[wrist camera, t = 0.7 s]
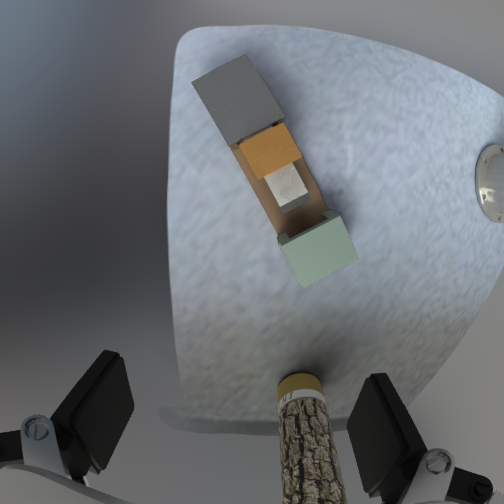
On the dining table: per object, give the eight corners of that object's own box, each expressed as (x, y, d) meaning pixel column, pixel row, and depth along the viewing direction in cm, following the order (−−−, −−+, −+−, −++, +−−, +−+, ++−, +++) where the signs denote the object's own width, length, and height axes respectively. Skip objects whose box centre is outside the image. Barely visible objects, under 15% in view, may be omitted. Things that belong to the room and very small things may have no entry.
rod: (246, 80, 27) (241, 56, 20) (311, 194, 30) (324, 199, 24) (212, 98, 28) (198, 78, 21) (276, 212, 31) (280, 222, 24)
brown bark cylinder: (323, 370, 38) (360, 517, 14) (316, 400, 40) (341, 534, 16) (278, 370, 38) (286, 527, 14) (275, 401, 40) (279, 540, 16)
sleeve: (248, 70, 27) (245, 54, 22) (282, 125, 29) (285, 116, 24) (201, 95, 28) (191, 82, 23) (233, 150, 30) (228, 145, 25)
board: (250, 73, 28) (249, 70, 27) (343, 244, 33) (345, 247, 32) (201, 98, 29) (199, 96, 28) (296, 269, 34) (297, 272, 33)
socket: (330, 209, 31) (342, 214, 26) (347, 246, 32) (360, 258, 27) (276, 236, 32) (279, 247, 27) (295, 272, 33) (301, 288, 28)
